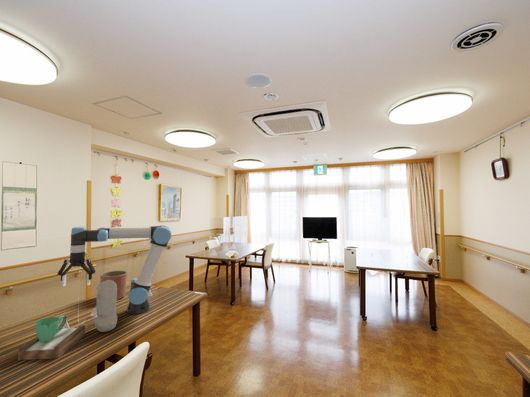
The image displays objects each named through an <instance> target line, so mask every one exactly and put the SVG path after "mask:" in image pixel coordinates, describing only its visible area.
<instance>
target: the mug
mask: <svg viewBox="0 0 530 397" xmlns="http://www.w3.org/2000/svg"><path fill="white" fill-rule="evenodd" d="M67 319H68V318H67V316H66V315H65V314H63V315H60V316H59V317H58V316H50V317H46V318H42V319H39V320H37V321H36V322H35V323H34V329H35V332H36V335H37V336H38V339H39V340H40V342H41V343H45V342H48V341H50V340H52V339H53V337H54V336H55V335H56V334H57V333H58V332H59V331H60V330H61V329H63V327H64V326H65V324H66V323H67ZM60 320H61V323H60ZM59 323H60V324H59ZM37 336H36V337H37Z"/></svg>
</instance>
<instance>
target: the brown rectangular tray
mask: <svg viewBox="0 0 530 397" xmlns="http://www.w3.org/2000/svg"><path fill="white" fill-rule="evenodd" d="M85 335H86V325H80V326H78V327H70V328H68V327H67V328H62V329H61V330H60V331H59V332H58V333H57V334H56V335H55V336H54V337H53V339H52V340H50V341H48V342H45V343H41V342H40V340H39V339H38V336H35V337H34V338H33V339H30V340H29V341H28V342H26V343H25V344H23V345H22V346H20V347H18V352H17V355H18V356H17V361H26V360H27V361H28V360H46V359H59V358H60V356H61V355H62V356H63V355H64V354H65V353H66V352H68V351H69V350H70V349H71V348H72V347H73V346H74V345H75V344H77V343H78V342H79V341H80V340H81V339H82V338H83V337H84V336H85ZM62 356H61V357H62Z"/></svg>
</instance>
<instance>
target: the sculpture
mask: <svg viewBox="0 0 530 397" xmlns="http://www.w3.org/2000/svg"><path fill="white" fill-rule="evenodd" d="M95 297H96V299H95V300H96V303H95V304H96V306H95V308H96V315H97V316H96V317H95V320H94V326H95V329H96V330H97V331H98V332H100V333H107V332H109V331H112V330H113V329H115V328H116V326H117V323H118V314H117V306H118V305H117V301H118V300H117V285H116V283H115V282H114V281H112V280H106V281H104V282H102V283H100V282H99V283H98V284H97V286H96V296H95Z"/></svg>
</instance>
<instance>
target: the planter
mask: <svg viewBox="0 0 530 397" xmlns="http://www.w3.org/2000/svg"><path fill="white" fill-rule="evenodd" d="M99 276H100V277H99V284H100V283H102V282H104V281H106V280H112V281H114V282H115V283H116V285H117V301H119V300H120V299H121V298H123V297H125V296H126V289H127V281H128V271H126V270H118V269H117V270H110V271H109V270H108V271H105V272H102V273H100V275H99Z"/></svg>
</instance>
